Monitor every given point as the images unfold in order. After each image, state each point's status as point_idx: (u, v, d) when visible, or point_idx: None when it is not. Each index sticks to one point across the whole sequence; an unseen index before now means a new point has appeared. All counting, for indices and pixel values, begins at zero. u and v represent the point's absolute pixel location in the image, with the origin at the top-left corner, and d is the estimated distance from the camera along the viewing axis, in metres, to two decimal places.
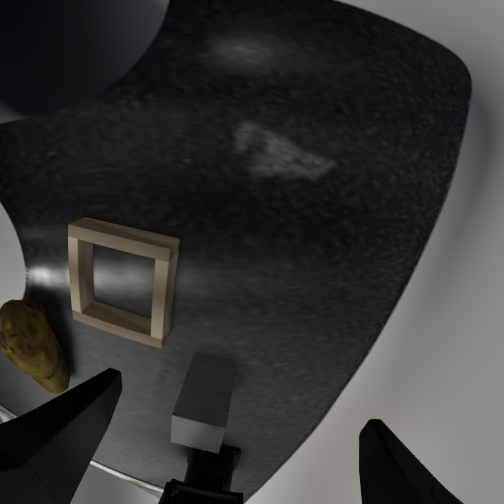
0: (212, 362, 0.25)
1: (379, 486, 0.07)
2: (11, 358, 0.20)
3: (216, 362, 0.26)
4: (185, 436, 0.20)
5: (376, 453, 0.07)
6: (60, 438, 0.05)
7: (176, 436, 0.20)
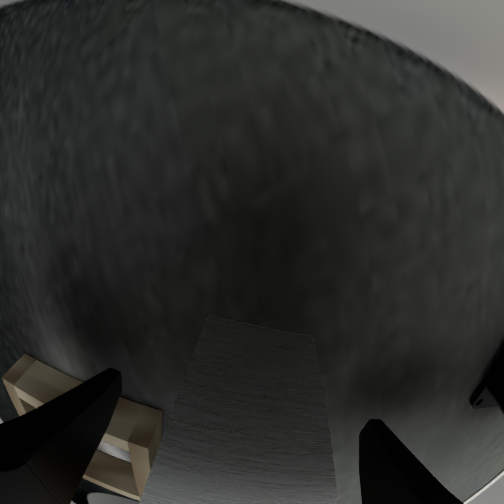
0: None
1: (379, 486, 0.07)
2: None
3: None
4: None
5: (376, 453, 0.07)
6: (60, 438, 0.05)
7: None
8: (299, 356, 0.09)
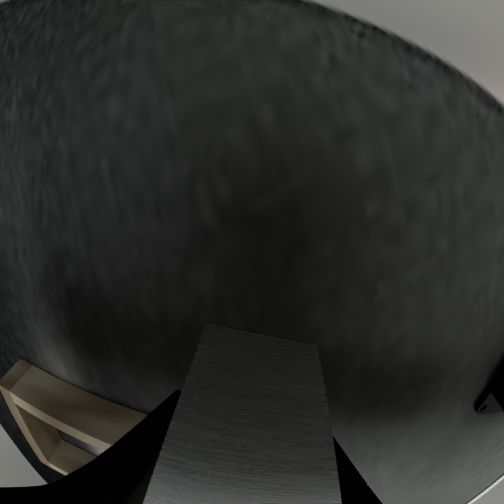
0: None
1: None
2: None
3: None
4: None
5: None
6: (143, 473, 0.05)
7: None
8: (302, 367, 0.09)
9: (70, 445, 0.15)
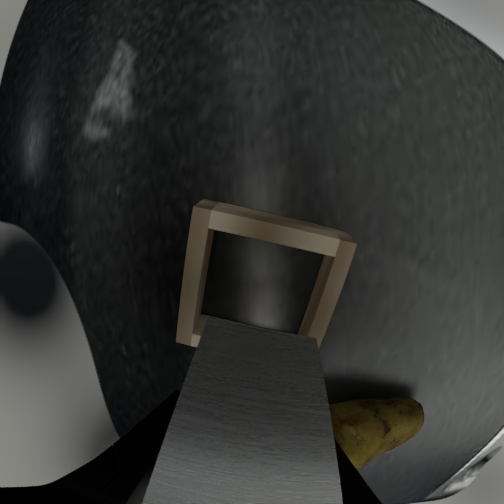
0: None
1: None
2: None
3: None
4: None
5: None
6: (143, 473, 0.05)
7: None
8: (302, 359, 0.09)
9: None
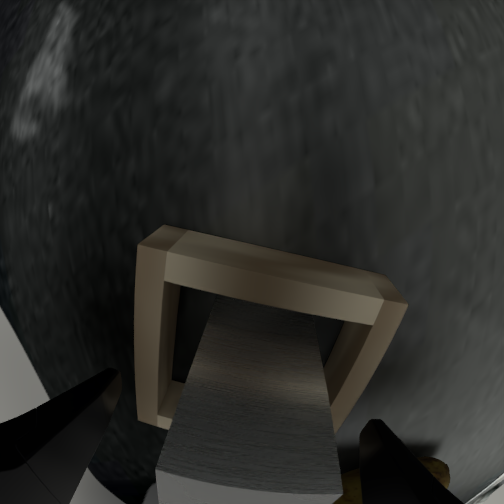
0: None
1: (379, 486, 0.07)
2: None
3: None
4: None
5: (376, 453, 0.07)
6: (59, 438, 0.05)
7: None
8: (299, 330, 0.11)
9: None
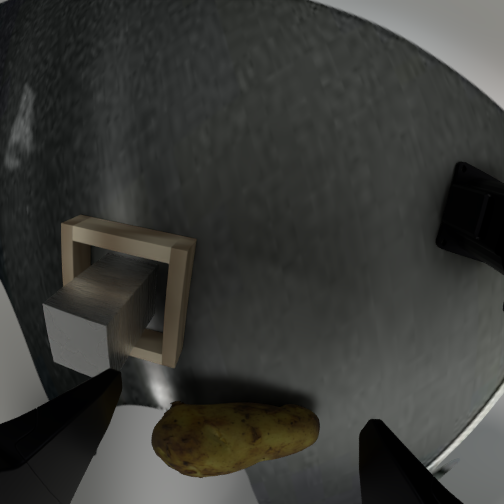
0: None
1: (379, 486, 0.07)
2: (207, 471, 0.17)
3: None
4: (85, 360, 0.13)
5: (376, 453, 0.07)
6: (60, 438, 0.05)
7: (94, 372, 0.14)
8: (141, 270, 0.19)
9: None
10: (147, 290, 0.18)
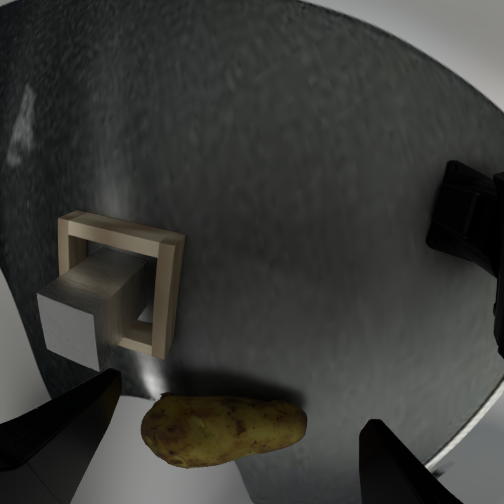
0: None
1: (379, 486, 0.07)
2: (193, 462, 0.17)
3: None
4: (75, 348, 0.14)
5: (376, 453, 0.07)
6: (59, 437, 0.05)
7: (83, 359, 0.14)
8: (133, 264, 0.19)
9: None
10: (138, 283, 0.19)
